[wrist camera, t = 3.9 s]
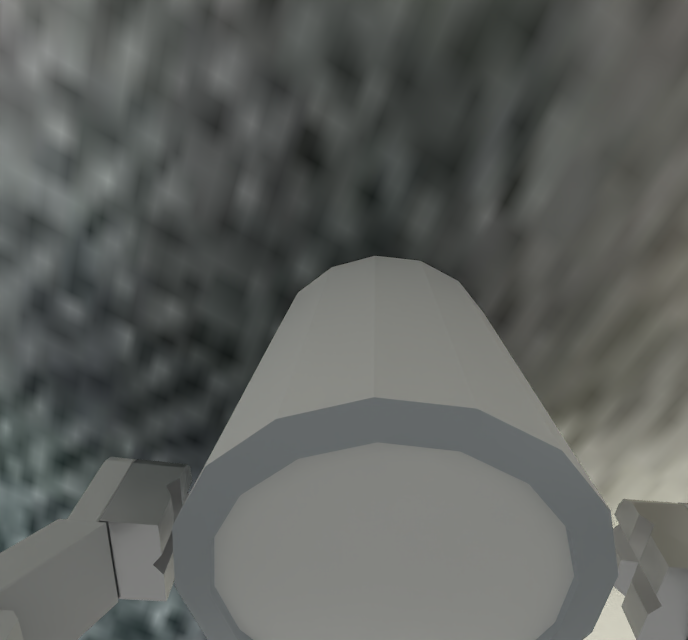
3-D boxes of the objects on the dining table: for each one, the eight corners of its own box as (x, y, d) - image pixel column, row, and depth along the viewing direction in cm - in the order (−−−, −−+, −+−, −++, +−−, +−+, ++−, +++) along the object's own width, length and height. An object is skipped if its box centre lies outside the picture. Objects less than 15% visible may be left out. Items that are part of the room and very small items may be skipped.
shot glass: (393, 496, 17) (405, 761, 11) (202, 367, 15) (86, 596, 9) (572, 345, 15) (722, 579, 8) (368, 170, 13) (364, 301, 7)
